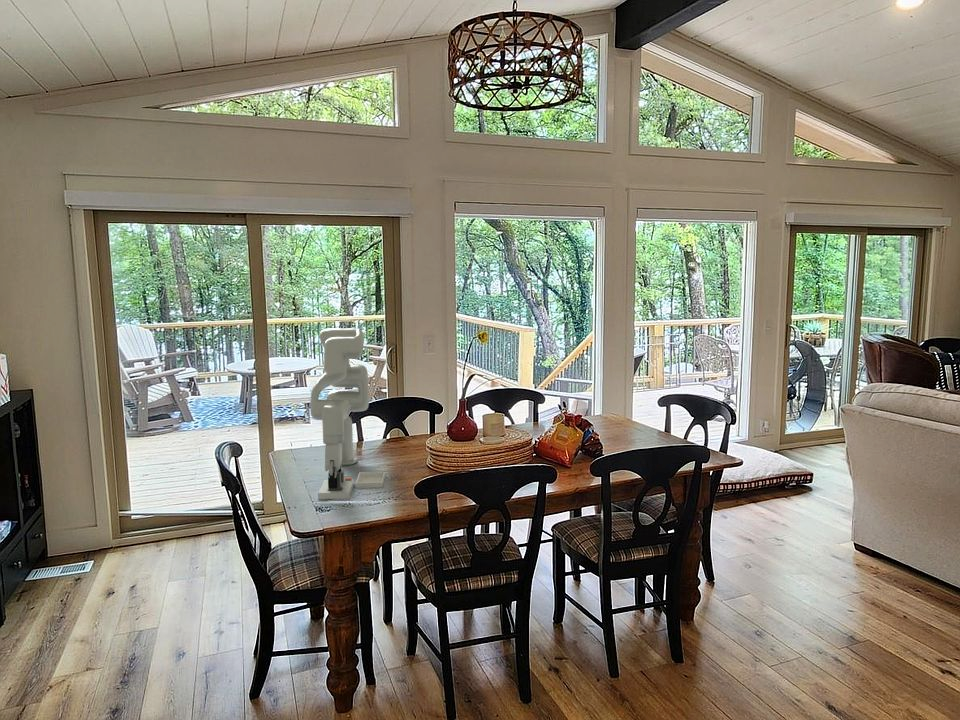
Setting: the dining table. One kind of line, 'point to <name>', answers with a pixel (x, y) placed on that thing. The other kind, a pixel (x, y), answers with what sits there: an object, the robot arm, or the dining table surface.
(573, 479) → the dining table surface
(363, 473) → the tray
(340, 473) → the plug
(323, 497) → the socket strip
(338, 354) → the robot arm
